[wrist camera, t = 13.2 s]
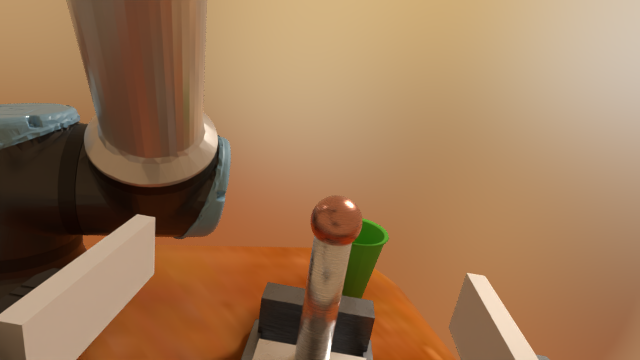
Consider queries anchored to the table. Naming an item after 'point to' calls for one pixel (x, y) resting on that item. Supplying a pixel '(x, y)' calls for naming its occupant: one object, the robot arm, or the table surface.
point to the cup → (363, 258)
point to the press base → (285, 314)
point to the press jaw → (321, 284)
